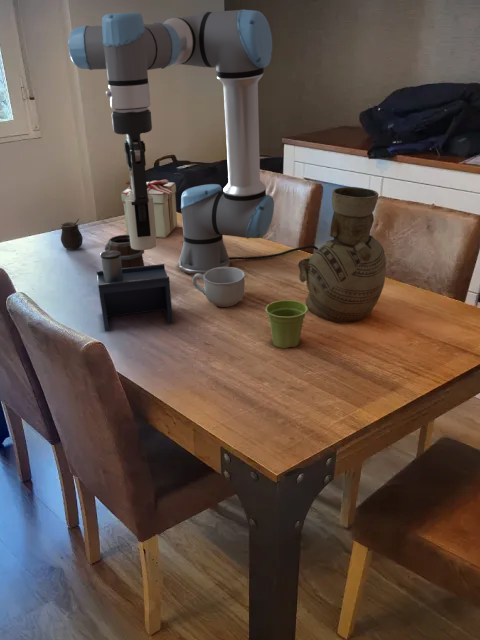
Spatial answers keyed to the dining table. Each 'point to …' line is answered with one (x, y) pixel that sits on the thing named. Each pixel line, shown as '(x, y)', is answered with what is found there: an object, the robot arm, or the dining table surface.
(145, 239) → the oil bottle
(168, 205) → the gift box
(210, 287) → the teacup
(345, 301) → the ceramic vessel
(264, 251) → the dining table surface
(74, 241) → the mate gourd
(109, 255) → the spice tin
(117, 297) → the blue channel bracket
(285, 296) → the dining table surface
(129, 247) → the mug
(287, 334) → the plant pot
